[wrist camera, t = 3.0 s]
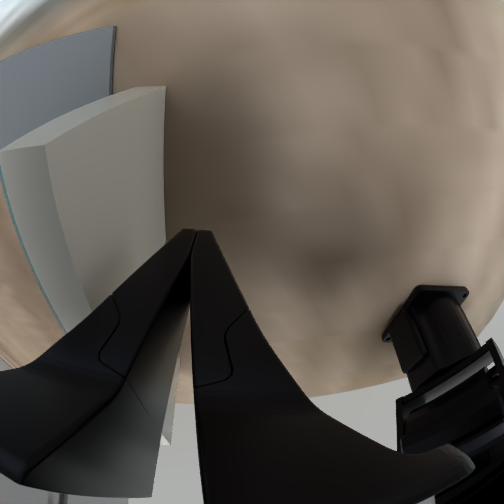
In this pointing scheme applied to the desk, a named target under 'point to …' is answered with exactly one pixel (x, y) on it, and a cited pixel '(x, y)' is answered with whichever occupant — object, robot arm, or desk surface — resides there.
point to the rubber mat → (54, 81)
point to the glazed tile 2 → (170, 408)
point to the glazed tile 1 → (89, 197)
